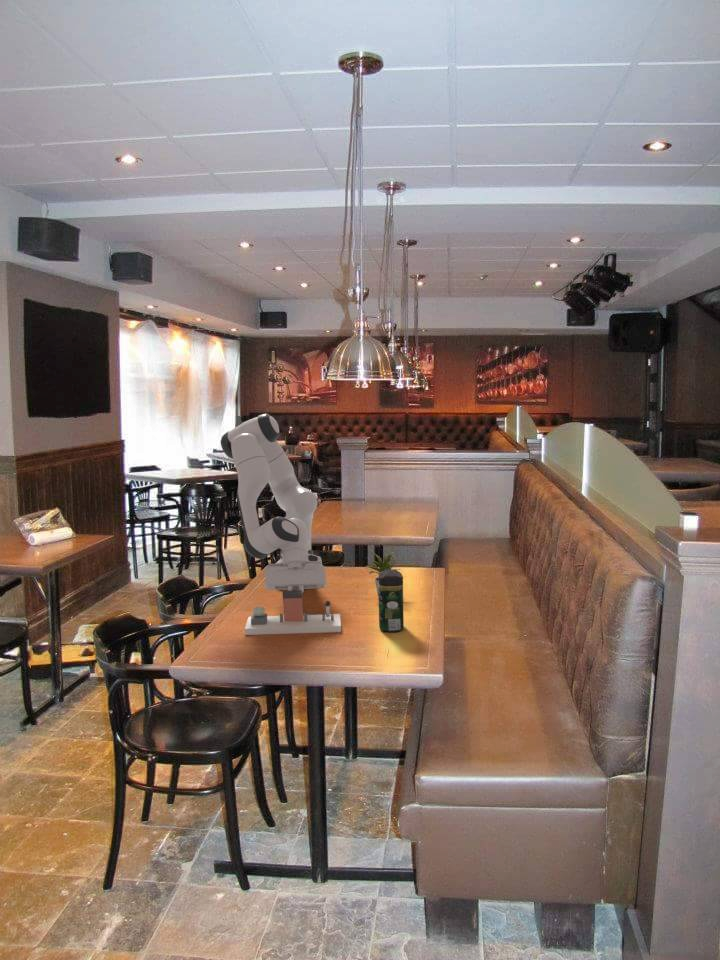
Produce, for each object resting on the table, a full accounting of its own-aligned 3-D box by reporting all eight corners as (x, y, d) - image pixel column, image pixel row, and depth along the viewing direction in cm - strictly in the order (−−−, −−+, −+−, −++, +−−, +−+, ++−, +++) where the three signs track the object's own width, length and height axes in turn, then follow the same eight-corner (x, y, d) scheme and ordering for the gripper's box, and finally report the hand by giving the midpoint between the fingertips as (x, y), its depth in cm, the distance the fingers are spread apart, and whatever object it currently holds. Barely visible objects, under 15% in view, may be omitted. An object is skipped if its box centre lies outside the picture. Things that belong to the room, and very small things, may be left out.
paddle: (284, 617, 234) (282, 590, 227) (303, 617, 235) (302, 590, 228) (284, 621, 233) (282, 594, 226) (303, 621, 233) (302, 594, 226)
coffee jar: (378, 623, 237) (377, 567, 235) (402, 622, 237) (402, 567, 235) (379, 633, 228) (378, 575, 225) (404, 633, 228) (404, 575, 225)
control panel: (248, 622, 239) (248, 609, 239) (339, 619, 241) (339, 606, 240) (245, 635, 227) (244, 621, 227) (341, 631, 229) (340, 618, 229)
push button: (253, 612, 235) (253, 606, 234) (265, 612, 235) (264, 606, 235) (252, 616, 231) (252, 610, 231) (264, 615, 231) (264, 609, 231)
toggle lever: (325, 616, 235) (324, 601, 237) (330, 616, 236) (330, 601, 237) (325, 616, 234) (324, 600, 235) (330, 616, 234) (330, 600, 235)
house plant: (373, 587, 279) (373, 545, 277) (407, 590, 274) (407, 548, 272) (359, 597, 266) (359, 554, 264) (395, 601, 261) (395, 556, 259)
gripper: (263, 559, 241) (263, 596, 233) (325, 556, 243) (327, 593, 234) (265, 568, 246) (264, 605, 238) (325, 566, 248) (327, 602, 239)
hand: (296, 599), depth 236 cm, fingers closed
